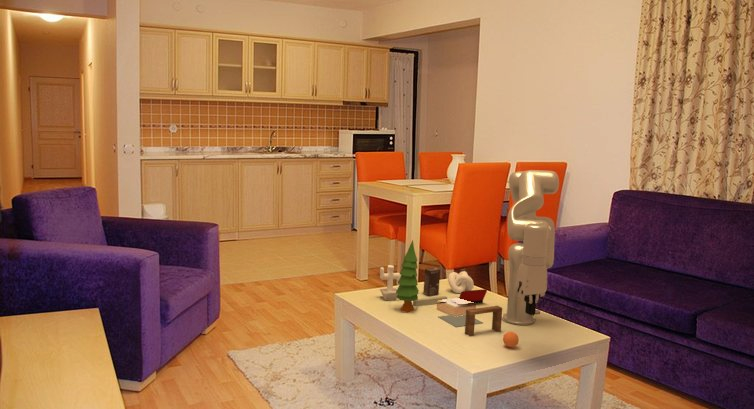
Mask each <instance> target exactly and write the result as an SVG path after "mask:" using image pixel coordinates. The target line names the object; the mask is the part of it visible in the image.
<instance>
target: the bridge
mask: <svg viewBox="0 0 754 409" xmlns="http://www.w3.org/2000/svg"><path fill="white" fill-rule="evenodd" d="M488 313H489V314H490V313H492V321H491V322H492V323H491V330H492V331H494V332H496V333H498V332H502V320H503V307H502V306H499V305H491V306H485V307H477V308H470V309H469V308H468V309H465V314H466V321H465V326H464V334H465V335H467V336H469V337H472V336H473V337H474V336H475V325H476V324H475V319H476V315H483V314H488Z"/></svg>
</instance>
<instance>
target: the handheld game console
mask: <svg viewBox="0 0 754 409" xmlns="http://www.w3.org/2000/svg"><path fill="white" fill-rule="evenodd" d="M487 291H488V290H487V289H485V288H484V289H472V290H471V291H463V292H461V293H459V294H460V295H459V297H458V298H460V299H464V300H467V301H471V302H474V303H476V304H483V303H484V299H485V296H486V295H487Z"/></svg>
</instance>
